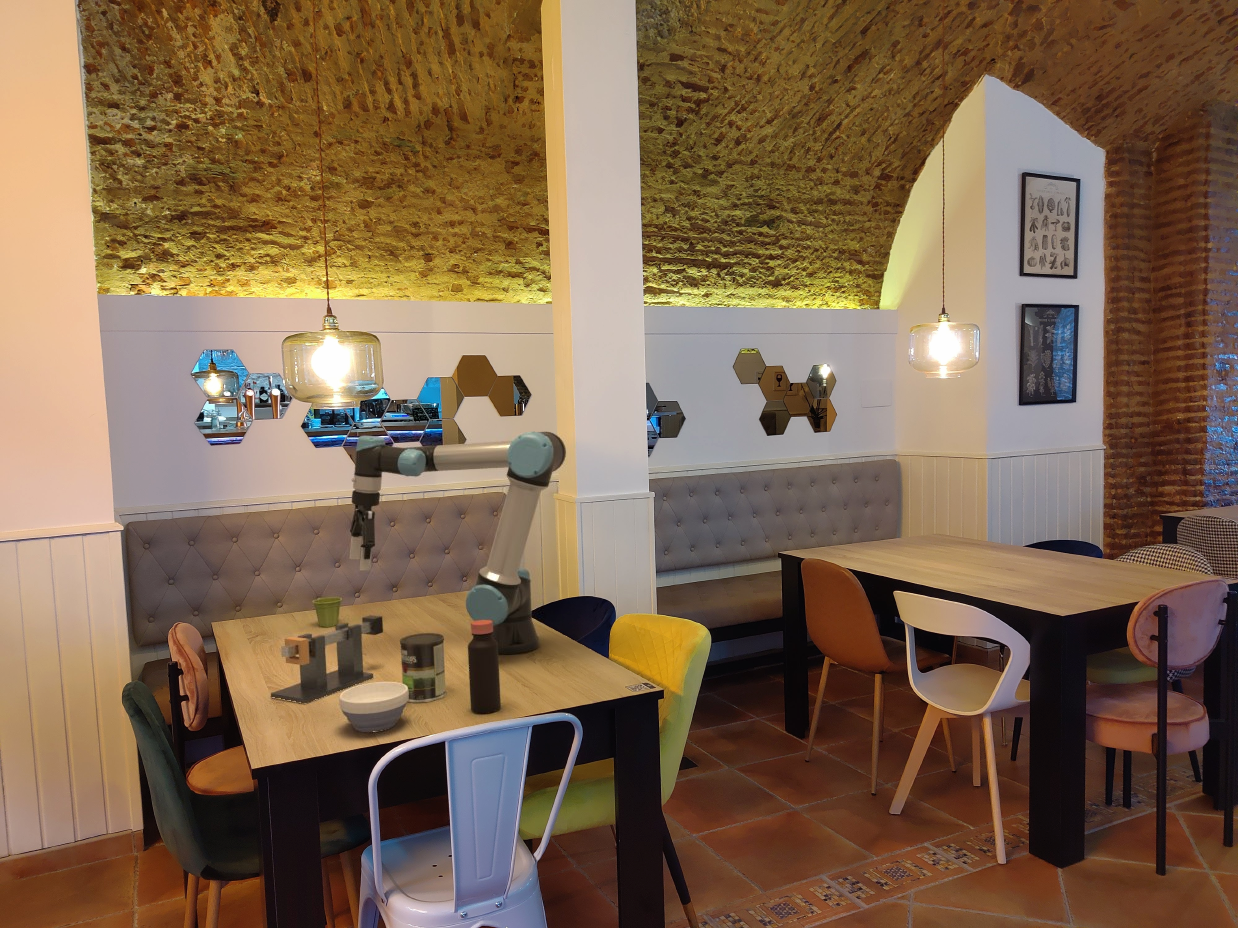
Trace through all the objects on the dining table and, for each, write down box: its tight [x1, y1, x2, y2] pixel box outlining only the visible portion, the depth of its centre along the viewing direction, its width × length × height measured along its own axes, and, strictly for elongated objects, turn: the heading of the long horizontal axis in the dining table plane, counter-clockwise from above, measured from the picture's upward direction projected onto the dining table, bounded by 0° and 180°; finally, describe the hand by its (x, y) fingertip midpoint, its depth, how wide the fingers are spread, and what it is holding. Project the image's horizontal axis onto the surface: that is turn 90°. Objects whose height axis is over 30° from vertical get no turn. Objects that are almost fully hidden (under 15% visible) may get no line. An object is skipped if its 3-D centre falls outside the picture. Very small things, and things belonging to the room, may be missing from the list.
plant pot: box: [312, 596, 343, 628], centre depth 280 cm, size 9×9×9 cm
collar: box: [284, 636, 309, 666], centre depth 204 cm, size 6×2×6 cm, turn 61°
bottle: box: [467, 620, 502, 715], centre depth 189 cm, size 7×7×20 cm
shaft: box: [280, 614, 384, 658], centre depth 214 cm, size 4×30×4 cm, turn 151°
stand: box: [270, 622, 374, 704], centre depth 210 cm, size 12×22×14 cm, turn 151°
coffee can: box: [399, 632, 447, 704], centre depth 201 cm, size 10×10×14 cm
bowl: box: [338, 681, 409, 733], centre depth 182 cm, size 14×14×8 cm
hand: (359, 564), depth 237 cm, fingers open, 13 cm apart
